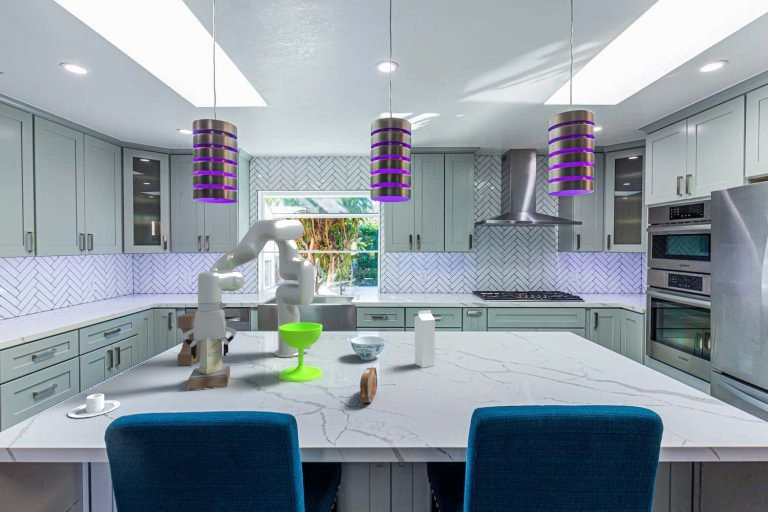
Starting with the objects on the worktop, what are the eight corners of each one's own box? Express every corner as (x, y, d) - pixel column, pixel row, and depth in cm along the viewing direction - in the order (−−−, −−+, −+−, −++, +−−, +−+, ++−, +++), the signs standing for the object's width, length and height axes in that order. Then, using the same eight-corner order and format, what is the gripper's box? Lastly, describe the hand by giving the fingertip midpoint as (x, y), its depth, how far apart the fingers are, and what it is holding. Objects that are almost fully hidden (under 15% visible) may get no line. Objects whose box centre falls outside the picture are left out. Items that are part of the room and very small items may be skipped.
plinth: (229, 375, 140) (229, 364, 140) (227, 386, 128) (227, 374, 128) (193, 379, 136) (193, 368, 136) (188, 390, 124) (188, 378, 124)
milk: (414, 363, 155) (414, 310, 155) (427, 362, 157) (426, 309, 157) (422, 367, 149) (422, 312, 149) (435, 365, 152) (434, 311, 152)
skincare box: (206, 374, 128) (206, 339, 128) (198, 372, 131) (198, 337, 130) (222, 369, 134) (222, 335, 133) (215, 367, 136) (215, 334, 136)
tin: (369, 407, 111) (369, 379, 111) (358, 406, 112) (358, 378, 112) (378, 389, 126) (378, 364, 126) (368, 388, 127) (368, 363, 127)
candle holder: (103, 419, 104) (103, 403, 104) (56, 421, 103) (56, 405, 103) (128, 402, 116) (128, 388, 116) (87, 403, 115) (86, 389, 115)
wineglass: (331, 374, 141) (331, 326, 141) (294, 385, 129) (294, 333, 129) (306, 365, 152) (306, 321, 152) (270, 375, 140) (270, 326, 140)
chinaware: (391, 356, 166) (391, 338, 166) (372, 364, 153) (372, 345, 153) (363, 351, 174) (363, 334, 174) (343, 359, 161) (343, 341, 161)
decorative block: (191, 365, 152) (191, 316, 151) (176, 366, 151) (176, 316, 151) (202, 358, 163) (202, 311, 163) (188, 358, 162) (188, 312, 162)
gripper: (237, 304, 138) (237, 351, 138) (184, 306, 133) (184, 355, 133) (235, 307, 131) (236, 357, 131) (180, 310, 125) (180, 361, 126)
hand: (210, 356), depth 132 cm, fingers open, 9 cm apart
